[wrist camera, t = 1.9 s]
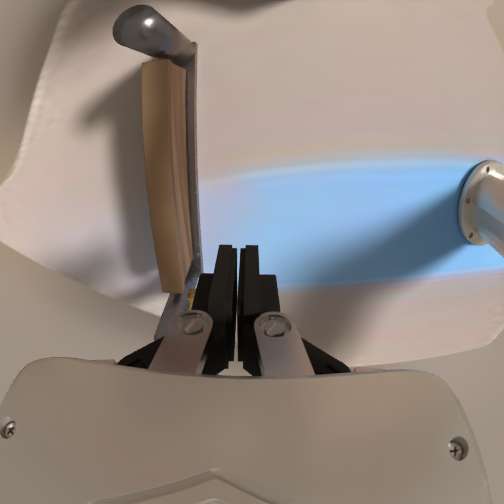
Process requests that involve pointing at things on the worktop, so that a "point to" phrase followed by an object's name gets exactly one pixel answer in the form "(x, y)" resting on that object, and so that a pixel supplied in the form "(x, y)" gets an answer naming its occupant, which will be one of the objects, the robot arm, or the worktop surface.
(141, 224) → the worktop surface
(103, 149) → the worktop surface
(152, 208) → the gate
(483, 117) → the worktop surface
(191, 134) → the gate frame
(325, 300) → the worktop surface
